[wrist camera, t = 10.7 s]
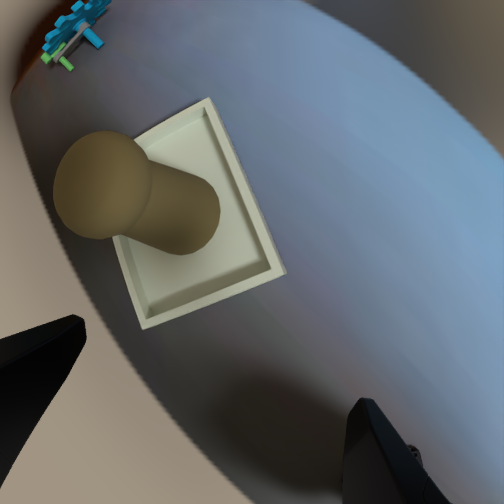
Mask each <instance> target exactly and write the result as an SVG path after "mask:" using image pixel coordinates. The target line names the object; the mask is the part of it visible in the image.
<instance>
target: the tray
mask: <svg viewBox="0 0 504 504" xmlns="http://www.w3.org/2000/svg"><path fill="white" fill-rule="evenodd" d="M134 141H135V142H136V143H137V144H138V145H139V146H140V147H141V148H142V149H143V150H144V152H145V153H146V155H147V157H148V159H149V160H152V161H155V162H158V163H161V164H164V165H167V166H170V167H173V168H176V169H179V170H182V171H185V172H187V173H190V174H193V175H196V176H198V177H201V178H203V179H205V180H206V181H207V182H208V183H209V184H210V185H211V186H212V187H213V188H214V190H215V192H216V194H217V196H218V198H219V203H220V209H221V213H220V220H219V225H218V227H217V229H216V232H215V234H214V236H213V237H212V239H211V240H210V241H209V242H208V243H207V244H206V245H205V246H204V247H203V248H201V249H199V250H198V251H196V252H194V253H192V254H187V255H182V256H180V255H174V254H169V253H166V252H164V251H161V250H159V249H156V248H154V247H151V246H149V245H146V244H144V243H141V242H139V241H136V240H134V239H131V238H129V237H126V236H124V235H121V234H120V235H117V236H113V237H112V238H113V242H114V245H115V249H116V252H117V256H118V259H119V262H120V266H121V269H122V272H123V275H124V278H125V281H126V284H127V287H128V290H129V293H130V296H131V299H132V302H133V305H134V308H135V311H136V313H137V316H138V319H139V322H140V324H141V327H142V330H143V329H146V328H150V327H153V326H156V325H158V324H161V323H164V322H166V321H169V320H172V319H174V318H177V317H180V316H182V315H185V314H187V313H190V312H193V311H195V310H198V309H200V308H203V307H206V306H208V305H211V304H213V303H216V302H218V301H221V300H223V299H226V298H229V297H231V296H234V295H236V294H239V293H241V292H244V291H246V290H249V289H251V288H254V287H256V286H259V285H261V284H263V283H266V282H268V281H271V280H273V279H276V278H278V277H281V276H283V275H285V274H287V272H286V269H285V267H284V264H283V262H282V260H281V257H280V255H279V252H278V250H277V247H276V245H275V243H274V240H273V238H272V235H271V233H270V231H269V228H268V226H267V223H266V221H265V219H264V216H263V214H262V211H261V209H260V207H259V204H258V202H257V200H256V197H255V195H254V193H253V190H252V188H251V185H250V183H249V181H248V178H247V176H246V174H245V171H244V169H243V167H242V165H241V162H240V160H239V158H238V155H237V153H236V151H235V148H234V146H233V144H232V142H231V139H230V137H229V135H228V132H227V130H226V128H225V126H224V123H223V121H222V119H221V117H220V114H219V112H218V110H217V108H216V106H215V105H214V104H213V102H212V101H211V99H210V98H209V97H208V98H206V99H204V100H202V101H200V102H198V103H196V104H194V105H193V106H191V107H189V108H187V109H185V110H183V111H181V112H180V113H178V114H176V115H174V116H172V117H171V118H169V119H167V120H165V121H164V122H162V123H160V124H159V125H157V126H155V127H154V128H152V129H150V130H149V131H147V132H145V133H144V134H142V135H140V136H139V137H137V138H136V139H134Z"/></svg>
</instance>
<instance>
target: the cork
mask: <svg viewBox="0 0 504 504" xmlns="http://www.w3.org/2000/svg"><path fill="white" fill-rule="evenodd" d="M53 200H54V204H55V208H56V211H57V213H58V215H59V216H60V218H61V220H62V221H63V223H64V224H65V226H66V227H68V228H69V229H70V230H72V231H73V232H75V233H76V234H78V235H80V236H82V237H86V238H93V239H101V240H102V239H106V238H110V237H113V236H117V235H120V234H121V235H124V236H126V237H129V238H131V239H134V240H136V241H139V242H141V243H144V244H146V245H149V246H151V247H154V248H156V249H159V250H161V251H164V252H166V253H169V254H174V255H180V256H182V255H187V254H192V253H194V252H196V251H198V250H199V249H201V248H203V247H204V246H205V245H206V244H207V243H208V242H209V241H210V240H211V239H212V237H213V236H214V234H215V232H216V229H217V227H218V225H219V220H220V213H221V209H220V203H219V198H218V196H217V194H216V192H215V190H214V188H213V187H212V186H211V185H210V184H209V183H208V182H207V181H206V180H205V179H203V178H201V177H198V176H196V175H193V174H190V173H187V172H185V171H182V170H179V169H176V168H173V167H170V166H167V165H164V164H161V163H158V162H155V161H152V160H149V159H148V157H147V155H146V153H145V152H144V150H143V149H142V148H141V147H140V146H139V145H138V144H137V143H136V142H135V141H134V140H133V139H131V138H130V137H128V136H127V135H124V134H121V133H118V132H115V131H109V130H106V131H97V132H93V133H90V134H88V135H86V136H84V137H82V138H80V139H79V140H77V141H76V142H75V143H74V144H73V145H72V146H71V147H70V148H69V149H68V151H67V152H66V154H65V155H64V157H63V158H62V160H61V162H60V164H59V167H58V169H57V171H56V176H55V180H54V185H53Z"/></svg>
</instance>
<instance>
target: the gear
mask: <svg viewBox="0 0 504 504" xmlns="http://www.w3.org/2000/svg"><path fill="white" fill-rule="evenodd" d="M110 3H111V0H89V2H88V3H87V4H86V5H85V4H84V3H83V2H81V1H78V2H77V3H76V4H74V6H72V7H71V9H72V10H73V11H74V13H73V14H71V15H69V16H61V17H60V18H59V19H58V20H57V21H56V23H55V26H57V27H58V28H56V29H55V30H53V31H51V32H49V33H48V34H47V35H46V37H45V40H46V41H47V43H46V44H45V45H44V46H43V47H42V48H43V49H44V50H45V51H46V52H45V53H44V54H43V55H42V56H41V59H42V60H43V61H44V62H45V63H46V64H49V63H50V62H51V61H52V60H53V61H54V62H55V63H59V62H61V63H62V64H63V65H64V66H65V67H66V68H67V69H68V70H69V71H70V72H71V71H72V70H73V69H74V68H75V67H74V66H73V65H72V64H71V63H70V62H69V61H68V60H67V59H66V58H65V56H66V55H67V54H68V52H69V51H70V50H71V49H72V48H73V47H74V46H75V44H76V43H77V42H78V41H79V40H80V39H81V38H82V37H83V36H85V37H86V38H87V39H88V40H89V41H90V42H91V43H92V44H93V45H94V46H95V47H96V48H97V49H100V48H101V47H102V46H103V45H104V44H105V43H104V42H103V41H102V40H101V39H100V38H99V37H98V36H97V35H96V34H95V33H94V32H93V31H92V30H91V29H90V28H91V27H92V26H93V25H94V23H95V22H96V21H95V20H94V19H95V18H97V17H98V16H101V15H102V14H104V12H105V11H106V8H105V6H107V5H108V4H110ZM71 38H72V40H71V41H70V42H69V43H68V41H69V40H70V39H71ZM48 53H49V54H50V55H51V56H50V55H49V54H48Z"/></svg>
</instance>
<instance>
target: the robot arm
mask: <svg viewBox="0 0 504 504" xmlns="http://www.w3.org/2000/svg"><path fill="white" fill-rule="evenodd" d="M86 338H87V336H86V329H85V322H84V319H83V318H81V317H79V316H77V315H73V314H72V315H69V316H66V317H63V318H60V319H57V320H54V321H52V322H49V323H46V324H43V325H40V326H37V327H34V328H31V329H28V330H25V331H22V332H19V333H16V334H14V335H11V336H8V337H5V338H2V339H0V488H1V486H2V484H3V482H4V480H5V478H6V477H7V475H8V473H9V471H10V469H11V467H12V465H13V464H14V462H15V460H16V458H17V456H18V455H19V453H20V451H21V450H22V448H23V446H24V445H25V443H26V441H27V439H28V438H29V436H30V434H31V433H32V431H33V430H34V428H35V426H36V425H37V423H38V421H39V420H40V418H41V417H42V415H43V414H44V412H45V410H46V409H47V407H48V406H49V404H50V403H51V401H52V400H53V398H54V396H55V395H56V393H57V392H58V390H59V389H60V387H61V386H62V384H63V383H64V381H65V380H66V378H67V376H68V375H69V373H70V371H71V369H72V367H73V365H74V363H75V361H76V359H77V358H78V356H79V354H80V352H81V350H82V349H83V347H84V345H85V343H86ZM415 453H416V454H415ZM414 454H415V455H414ZM342 483H343V498H342V504H452V503H451V502H449V501H448V499H447V498H446V497H445V496H444V495H443V494H442V492H441V491H440V490H439V488H438V487H437V486H436V484H435V483H434V482H433V480H432V479H431V478H430V476H428V474H427V472H426V471H425V469H424V468H423V464H422V459H421V455H420V452H419V450H418V449H412V450H410V449H409V447H408V446H407V445H406V443H405V442H404V441H403V439H402V438H401V436H400V435H399V434H398V432H397V431H396V430H395V428H394V427H393V426H392V424H391V423H390V422H389V420H388V419H387V417H386V416H385V415H384V413H383V412H382V411H381V409H380V408H379V407H378V405H377V404H376V403H375V401H374V400H373V399H370V398H363V397H362V398H360V399H359V400H358V401H357V402H356V404H355V405H354V407H353V408H352V410H351V411H350V413H349V415H348V418H347V428H346V438H345V447H344V456H343V476H342Z"/></svg>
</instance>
